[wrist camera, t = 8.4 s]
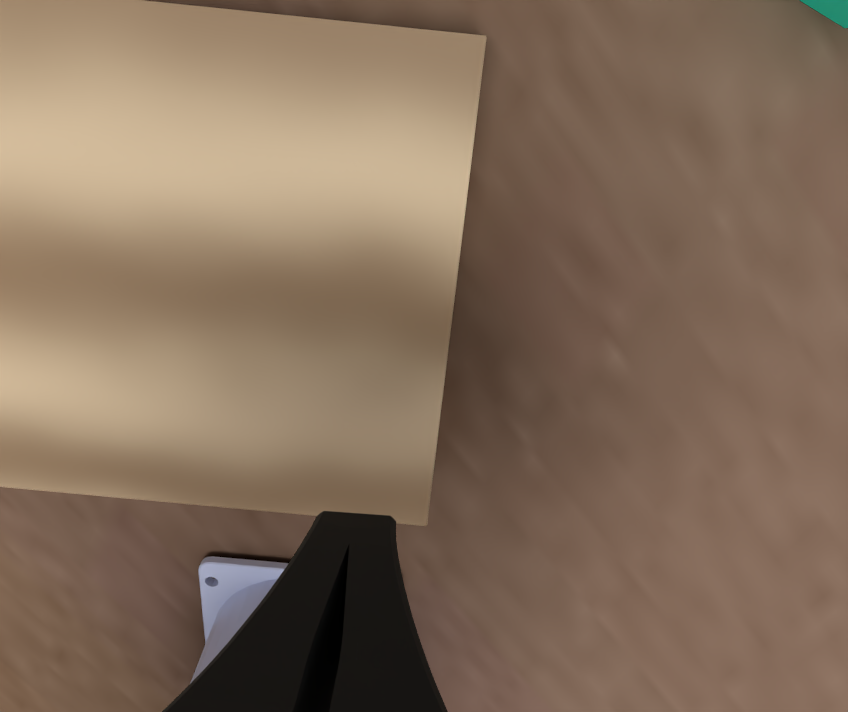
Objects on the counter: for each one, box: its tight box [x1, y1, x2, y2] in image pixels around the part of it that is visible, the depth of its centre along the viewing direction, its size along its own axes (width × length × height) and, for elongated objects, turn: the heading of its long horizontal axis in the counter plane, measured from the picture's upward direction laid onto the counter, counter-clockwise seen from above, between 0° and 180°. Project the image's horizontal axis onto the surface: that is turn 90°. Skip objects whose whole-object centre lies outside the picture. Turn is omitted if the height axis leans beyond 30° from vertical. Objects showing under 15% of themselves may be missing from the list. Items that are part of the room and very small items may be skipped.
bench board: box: [0, 0, 487, 526], centre depth 18 cm, size 14×14×3 cm
